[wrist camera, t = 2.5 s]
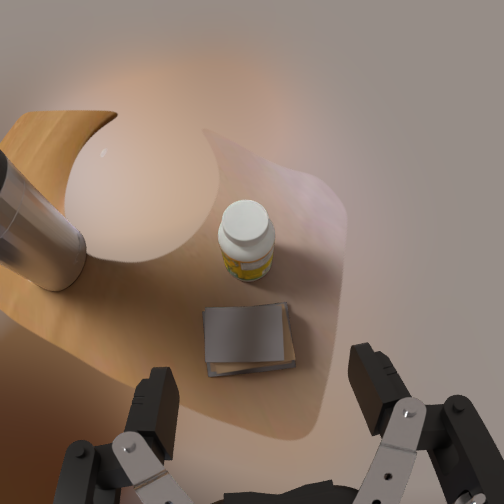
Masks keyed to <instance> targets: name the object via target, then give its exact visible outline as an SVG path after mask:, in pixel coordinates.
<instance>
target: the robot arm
mask: <svg viewBox="0 0 504 504" xmlns="http://www.w3.org/2000/svg"><path fill="white" fill-rule="evenodd" d="M85 259H86V243H85V240H84V238H83V235H82V234H81V233H80V232H79V231H78V230H77V229H76V228H75V227H74V226H73V225H72V224H71V223H70V222H69V221H68V220H67V219H66V218H65V217H64V216H63V215H62V214H61V213H60V212H59V211H58V210H57V209H56V208H55V207H54V206H53V205H52V204H51V203H50V202H49V201H48V200H47V199H46V198H45V197H44V196H43V195H42V194H41V193H40V192H39V191H38V190H37V189H36V188H35V187H34V186H33V185H32V184H31V183H30V182H29V181H28V180H27V179H26V178H25V176H24V175H23V174H22V173H21V172H20V171H19V170H18V169H17V168H16V167H15V166H14V165H13V163H12V162H11V161H10V160H9V159H8V158H7V157H6V156H5V154H4V153H3V152H2V151H1V150H0V264H1V265H3V266H4V267H6V268H8V269H10V270H11V271H13V272H15V273H17V274H18V275H20V276H22V277H24V278H26V279H27V280H29V281H31V282H33V283H35V284H37V285H39V286H40V287H42V288H44V289H46V290H49V291H60V290H63V289H65V288H66V287H68V286H70V285H71V284H72V283H73V282H74V281H75V280H76V278H77V277H78V276H79V274H80V272H81V271H82V269H83V266H84V263H85ZM348 378H349V382H350V384H351V387H352V389H353V391H354V394H355V396H356V398H357V401H358V403H359V406H360V408H361V410H362V413H363V415H364V418H365V420H366V423H367V425H368V428H369V430H370V433H371V435H372V436H375V435H378V434H380V436H381V438H382V440H381V443H380V445H379V448H378V450H377V452H376V455H375V457H374V459H373V462H372V464H371V466H370V468H369V470H368V473H367V475H366V477H365V479H364V481H363V483H362V485H361V487H360V489H359V490H357V489H354V488H351V487H346V486H339V485H333V482H332V480H328V481H323V482H318V483H313V484H307V485H304V486H301V487H299V488H296V489H294V490H291V491H288V492H285V493H283V494H278V495H276V494H265V493H256V492H241V493H224V499H223V500H219V501H217V502H214V503H212V504H399V503H400V500H401V498H402V495H403V493H404V490H405V487H406V485H407V482H408V479H409V476H410V474H411V471H412V468H413V465H414V462H415V459H416V455H417V452H416V450H427V452H428V454H429V457H430V459H431V462H432V464H433V467H434V469H435V471H436V474H437V477H438V480H439V482H440V485H441V487H442V490H443V493H444V496H445V498H446V501H447V504H504V460H503V458H502V456H501V454H500V452H499V450H498V448H497V447H496V445H495V443H494V441H493V439H492V437H491V436H490V434H489V432H488V430H487V428H486V427H485V425H484V423H483V421H482V419H481V418H480V416H479V414H478V412H477V411H476V409H475V407H474V406H473V404H472V402H471V401H470V400H469V399H468V398H467V397H465V396H462V395H453V396H450V397H449V398H448V399H447V400H446V401H445V403H444V404H438V405H424V403H423V402H422V401H420V400H419V399H416V398H412V396H411V395H410V393H409V391H408V390H407V388H406V386H405V385H404V383H403V381H402V380H401V378H400V376H399V374H397V371H396V369H395V368H394V367H393V364H392V363H391V361H390V359H389V358H388V357H387V356H386V355H385V354H383V353H382V352H381V351H378V352H374V351H373V350H372V348H371V346H370V344H369V343H362V344H357V345H352V346H351V350H350V358H349V365H348ZM178 409H179V391H178V388H177V385H176V382H175V380H174V377H173V374H172V371H171V369H170V367H153V368H152V370H151V374H150V377H149V379H142V380H141V382H140V383H139V384H138V385H137V387H136V390H135V393H134V398H133V400H132V405H131V408H130V412H129V415H128V419H127V423H126V426H125V430H124V433H121V434H120V435H118V436H117V437H116V438H115V439H114V441H113V443H110V444H105V445H100V446H93V445H92V444H91V443H90V442H88V441H85V440H78V441H75V442H73V443H72V444H71V445H70V446H69V447H68V448H67V451H66V454H65V457H64V461H63V465H62V469H61V473H60V476H59V480H58V485H57V489H56V493H55V498H54V502H53V504H119V503H120V495H121V487H127V486H132V485H134V490H135V492H136V493H137V495H138V496H139V498H140V499H141V501H142V502H143V504H194V503H193V502H192V500H191V499H190V498H189V497H188V496H187V495H186V493H185V492H184V491H183V490H182V489H181V487H180V486H179V485H178V484H177V483H176V481H175V480H174V479H173V478H172V476H171V475H170V474H169V472H168V471H167V470H166V469H165V468H164V460H172V459H173V450H174V449H173V448H174V441H175V433H176V425H177V417H178Z"/></svg>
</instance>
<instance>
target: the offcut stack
mask: <svg viewBox="0 0 504 504" xmlns="http://www.w3.org/2000/svg"><path fill="white" fill-rule="evenodd" d="M202 314H203V326H204V338H205V362H207V369H208V377H213V376H225V375H236V374H246V373H255V372H264V371H272V370H279V369H286V368H293V367H296V364H295V359H296V358H295V353H294V348H293V342H292V335H291V328H290V321H289V314H288V307H287V302H283V303H275V304H267V305H259V306H250V307H205V311H202Z"/></svg>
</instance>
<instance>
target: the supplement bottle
mask: <svg viewBox="0 0 504 504" xmlns="http://www.w3.org/2000/svg"><path fill="white" fill-rule="evenodd" d="M218 241H219V245H220V248H221V252H222V255H223V259H224V263H225V266H226V268H227V270H228V271H229V273H230V274H231V275H233V276H234V277H235V278H237V279H239V280H241V281H246V282H250V281H255V280H258V279H260V278H262V277H263V276H264V275H265V274H266V273H267V272H268V271H269V269H270V267H271V264H272V259H273V251H274V243H275V230H274V226H273V224H272V222H271V220H270V219H269V217H268V214H267V211H266V210H265V208H264V207H263V206H262V205H260V204H259V203H257V202H255V201H251V200H240V201H237V202H234V203H233V204H231V205H230V206H228V207H227V209H226V210H225V212H224V214H223V217H222V222H221V224H220V227H219V230H218Z"/></svg>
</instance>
